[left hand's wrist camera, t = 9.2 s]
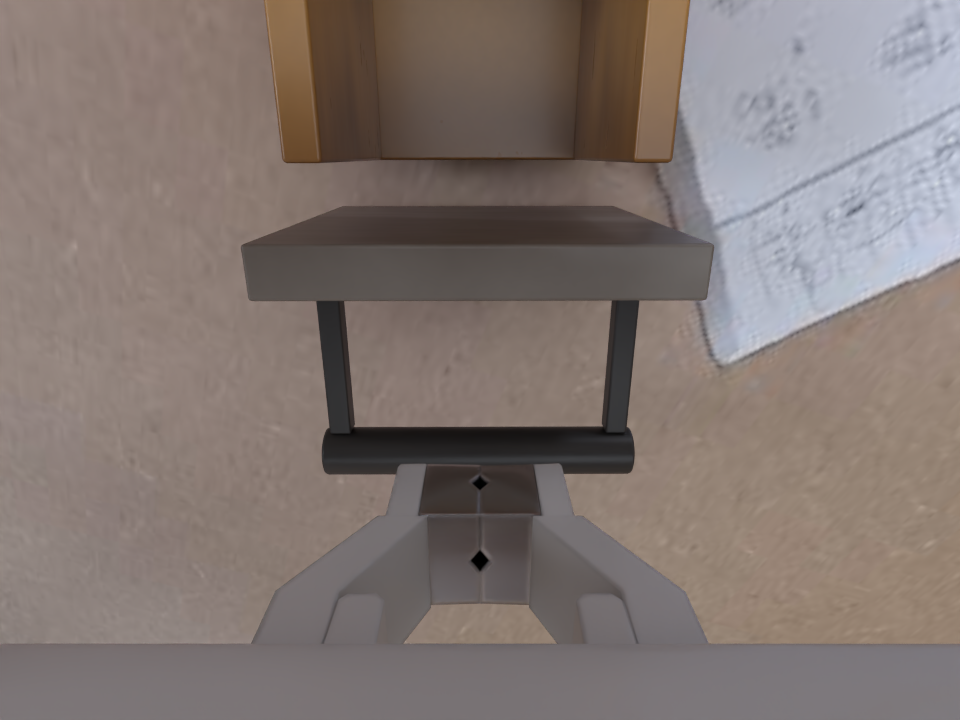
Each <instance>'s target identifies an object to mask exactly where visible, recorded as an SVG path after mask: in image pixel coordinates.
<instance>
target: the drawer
mask: <svg viewBox="0 0 960 720" xmlns="http://www.w3.org/2000/svg"><path fill="white" fill-rule="evenodd" d="M264 4H265V13H266V21H267V30H268V39H269V47H270V56H271V65H272V73H273V82H274V90H275V99H276V108H277V116H278V125H279V134H280V142H281V151H282V159H283V161H284V162H286V163H330V162H349V161H368V160H591V161H611V162H631V163H668V162H671V160H672V158H673V150H674V141H675V132H676V123H677V114H678V105H679V96H680V87H681V78H682V69H683V60H684V51H685V42H686V33H687V24H688V15H689V6H690V0H264ZM241 251H242V257H243V264H244V271H245V278H246V285H247V291H248V298H249V300H251V301H316V302H317V312H318V321H319V331H320V340H321V350H322V359H323V369H324V378H325V388H326V398H327V407H328V417H329V426H330V428H328V429H327V430H326V432H325V435H324V439H323V444H322V463H323V468H324V471H325V472H326V473H327V474H396V473H397V469H398V467H399V466H400V464H426V465H428V464H457V465H480V466H488V465H528V464H555V463H559V464H560V465H561V466H562V470H563V473H564V474H628V473H630V472H631V471H632V469H633V465H634V456H635V451H634V441H633V436H632V433H631V431H630V429H629V428H628V427H627V417H628V407H629V397H630V387H631V378H632V368H633V358H634V348H635V338H636V328H637V318H638V308H639V300H705V299H706V298H707V294H708V287H709V280H710V273H711V266H712V259H713V252H714V245H713V244H711V243H709V242H706V241H704V240H701V239H698V238H696V237H693V236H690V235H688V234H685V233H682V232H680V231H677V230H675V229H672V228H669V227H667V226H664V225H661V224H659V223H656V222H653V221H651V220H648V219H646V218H643V217H640V216H638V215H635V214H632V213H630V212H627V211H624V210H622V209H619V208H617V207H614V206H342V207H340V208H337V209H334V210H332V211H329V212H327V213H324V214H321V215H319V216H316V217H314V218H311V219H308V220H306V221H303V222H300V223H298V224H295V225H293V226H290V227H287V228H285V229H282V230H279V231H277V232H274V233H272V234H269V235H266V236H264V237H261V238H259V239H256V240H253V241H251V242H248V243H245V244H243V245H242V246H241ZM599 300H612V306H611V318H610V330H609V342H608V354H607V366H606V378H605V390H604V403H603V415H602V425H603V427H354V425H355V421H354V410H353V398H352V387H351V375H350V364H349V352H348V341H347V329H346V318H345V306H344V301H599Z"/></svg>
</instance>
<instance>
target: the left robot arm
mask: <svg viewBox="0 0 960 720" xmlns="http://www.w3.org/2000/svg"><path fill="white" fill-rule="evenodd" d="M477 603H481V604H517V605H529V608H530V609H531V610H532V611H533V613H534V614H535V615H536V617H537V618H538V619H539V620H540V622H541V623H542V624H543V626H544V627H545V628H546V629H547V631H548V632H549V633H550V635H551V636H552V637H553V638H554V640H555V641H556V642H557V644H403V643H404V641H405V640H406V639H407V638H408V636H409V635H410V634H411V632H412V631H413V630H414V629H415V627H416V626H417V625H418V624H419V622H420V621H421V620H422V618H423V617H424V616H425V615H426V613H427V612H428V611H429V609H430V608H431V605H442V604H477ZM0 720H960V644H709V643H708V641H707V639H706V636H705V634H704V632H703V630H702V628H701V625H700V623H699V621H698V619H697V617H696V614H695V612H694V610H693V608H692V606H691V603H690V601H689V599H688V597H687V595H686V592H685V591H684V590H682V589H681V588H679V587H678V586H677V585H675V584H674V583H673V582H671V581H670V580H669V579H667V578H666V577H665V576H663V575H662V574H660V573H659V572H658V571H656V570H655V569H654V568H652V567H651V566H650V565H648V564H647V563H646V562H644V561H643V560H641V559H640V558H639V557H637V556H636V555H635V554H633V553H632V552H631V551H629V550H628V549H626V548H625V547H624V546H622V545H621V544H620V543H618V542H617V541H616V540H614V539H613V538H612V537H610V536H609V535H607V534H606V533H605V532H603V531H602V530H601V529H599V528H598V527H597V526H595V525H594V524H593V523H591V522H590V521H588V520H587V519H586V518H584V517H583V516H574V512H573V508H572V505H571V501H570V497H569V493H568V489H567V485H566V481H565V477H564V473H563V470H562V466H561V465H560V464H559V463H555V464H528V465H488V466H480V465H457V464H428V465H426V464H400V466H399V467H398V469H397V473H396V477H395V481H394V485H393V489H392V493H391V496H390V500H389V504H388V508H387V512H386V516H377V517H376V518H374V519H373V520H372V521H370V522H369V523H367V524H366V525H365V526H363V527H362V528H361V529H359V530H358V531H357V532H355V533H354V534H352V535H351V536H350V537H348V538H347V539H346V540H344V541H343V542H342V543H340V544H339V545H337V546H336V547H335V548H333V549H332V550H331V551H329V552H328V553H327V554H325V555H324V556H322V557H321V558H320V559H318V560H317V561H316V562H314V563H313V564H312V565H310V566H309V567H307V568H306V569H305V570H303V571H302V572H301V573H299V574H298V575H296V576H295V577H294V578H292V579H291V580H290V581H288V582H287V583H286V584H284V585H283V586H281V587H280V588H279V589H277V590H276V591H275V593H274V595H273V597H272V599H271V602H270V604H269V606H268V608H267V610H266V613H265V615H264V617H263V619H262V621H261V623H260V626H259V628H258V630H257V632H256V634H255V636H254V639H253V641H252V643H251V644H0Z"/></svg>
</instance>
